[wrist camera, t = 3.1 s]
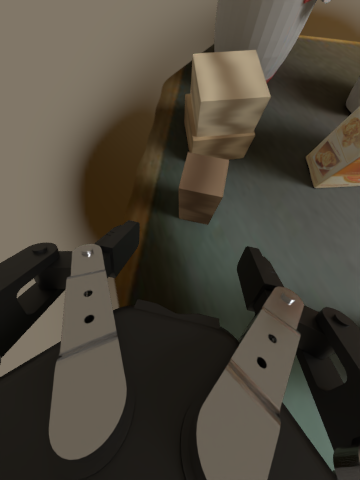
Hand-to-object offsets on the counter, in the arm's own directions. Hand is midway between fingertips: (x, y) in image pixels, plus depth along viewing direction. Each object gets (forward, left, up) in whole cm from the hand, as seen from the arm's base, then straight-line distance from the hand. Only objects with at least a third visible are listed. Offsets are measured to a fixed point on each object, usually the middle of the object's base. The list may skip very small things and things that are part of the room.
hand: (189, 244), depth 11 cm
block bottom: (-5, -24, -13) cm, 28 cm away
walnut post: (-2, -9, -13) cm, 16 cm away
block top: (-5, -24, -8) cm, 26 cm away
